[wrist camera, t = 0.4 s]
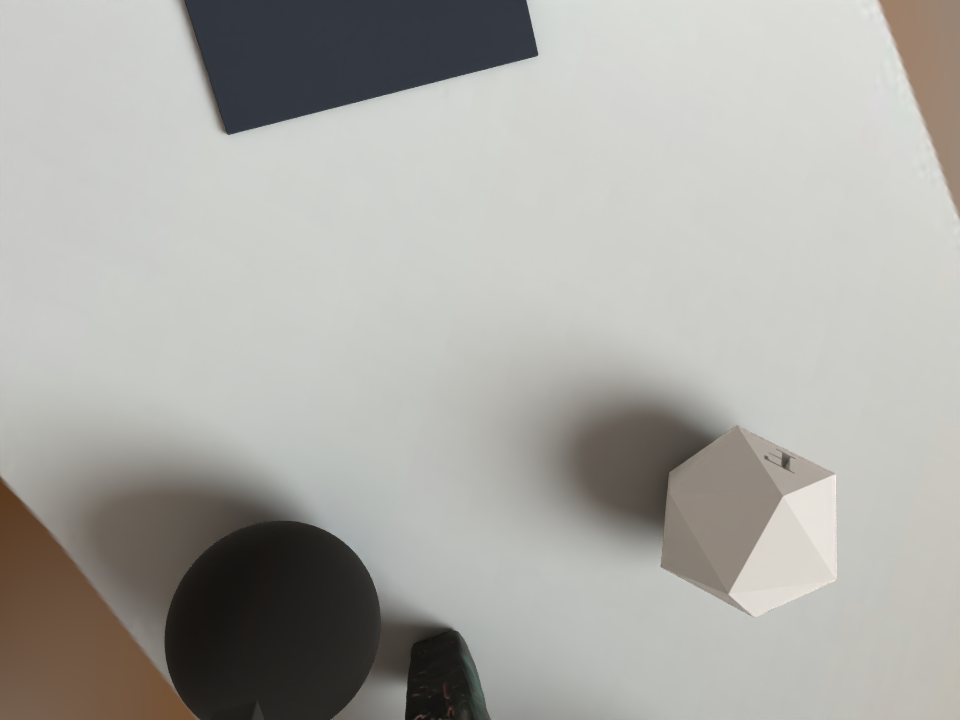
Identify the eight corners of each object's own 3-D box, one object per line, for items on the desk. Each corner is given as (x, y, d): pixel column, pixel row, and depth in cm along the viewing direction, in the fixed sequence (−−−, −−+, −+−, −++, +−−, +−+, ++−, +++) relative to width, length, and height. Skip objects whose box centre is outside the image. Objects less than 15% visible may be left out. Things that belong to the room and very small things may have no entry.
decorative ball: (406, 626, 43) (406, 752, 33) (235, 681, 43) (185, 823, 33) (350, 467, 41) (332, 551, 31) (169, 523, 40) (94, 625, 31)
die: (811, 510, 45) (901, 457, 36) (759, 653, 41) (843, 635, 32) (677, 442, 46) (730, 375, 37) (616, 574, 43) (658, 536, 34)
